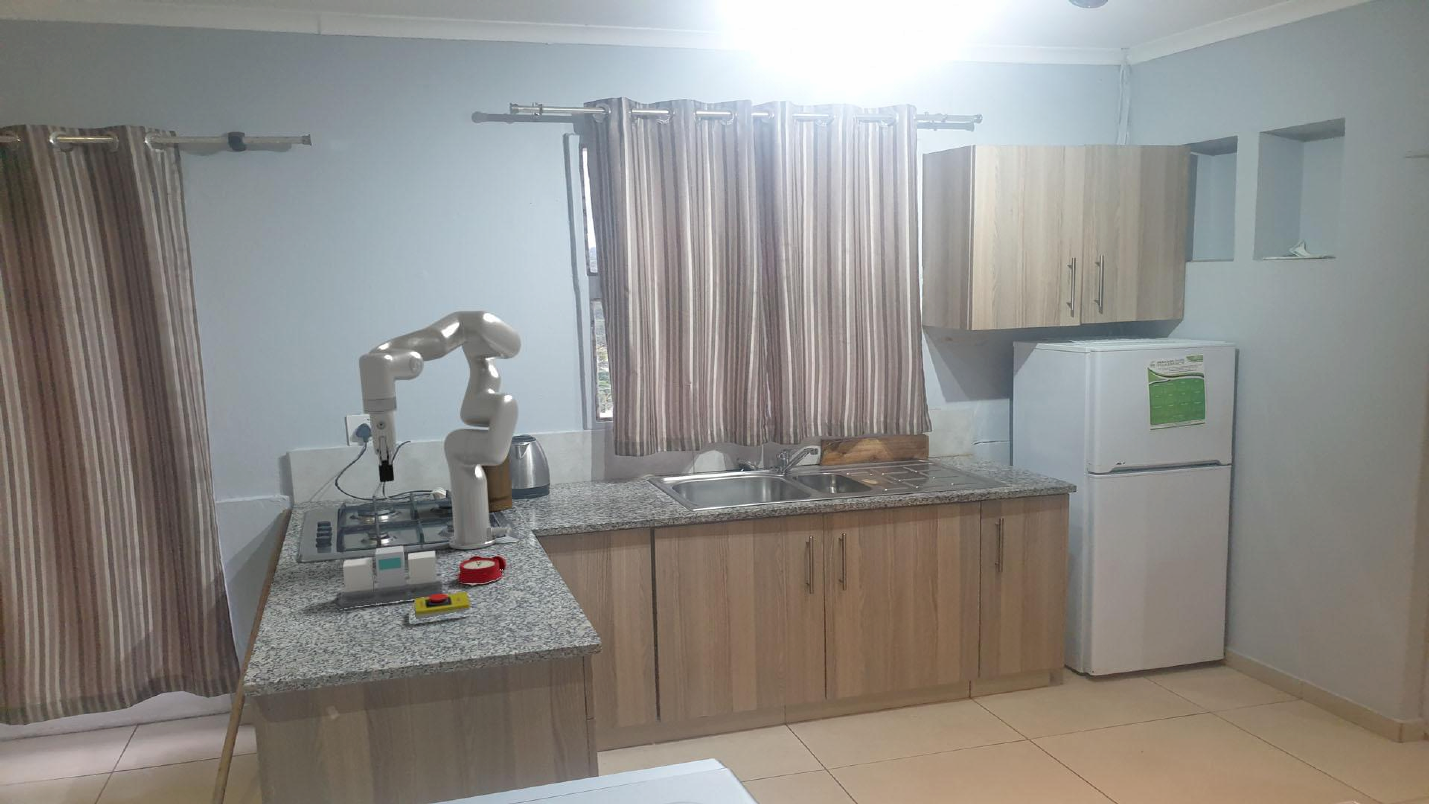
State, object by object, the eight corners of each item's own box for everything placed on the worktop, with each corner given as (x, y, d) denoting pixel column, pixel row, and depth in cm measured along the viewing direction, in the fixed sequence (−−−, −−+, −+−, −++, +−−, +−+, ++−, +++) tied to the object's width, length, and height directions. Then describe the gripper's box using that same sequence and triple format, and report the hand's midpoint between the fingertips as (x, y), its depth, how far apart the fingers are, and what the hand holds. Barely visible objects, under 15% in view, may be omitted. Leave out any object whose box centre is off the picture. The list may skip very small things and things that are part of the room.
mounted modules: (436, 575, 229) (434, 550, 228) (437, 581, 224) (435, 556, 223) (346, 585, 223) (344, 560, 222) (345, 592, 218) (343, 566, 217)
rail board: (441, 579, 234) (440, 569, 233) (442, 597, 220) (442, 586, 220) (344, 590, 227) (343, 580, 227) (340, 610, 214) (339, 599, 214)
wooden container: (497, 499, 315) (493, 432, 312) (521, 506, 304) (517, 437, 301) (455, 507, 305) (450, 439, 302) (479, 515, 294) (474, 444, 291)
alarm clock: (448, 573, 227) (469, 541, 241) (452, 596, 229) (472, 563, 243) (491, 573, 226) (509, 541, 240) (495, 596, 228) (512, 563, 242)
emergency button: (406, 594, 212) (476, 584, 217) (407, 613, 212) (477, 603, 217) (407, 607, 203) (480, 597, 208) (409, 627, 204) (481, 617, 208)
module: (405, 578, 227) (403, 545, 226) (405, 585, 222) (402, 551, 221) (378, 581, 225) (376, 548, 224) (377, 588, 220) (375, 554, 219)
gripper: (396, 408, 223) (403, 486, 226) (396, 399, 237) (403, 472, 240) (361, 411, 221) (369, 489, 223) (364, 402, 235) (371, 476, 238)
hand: (387, 480), depth 232 cm, fingers closed
